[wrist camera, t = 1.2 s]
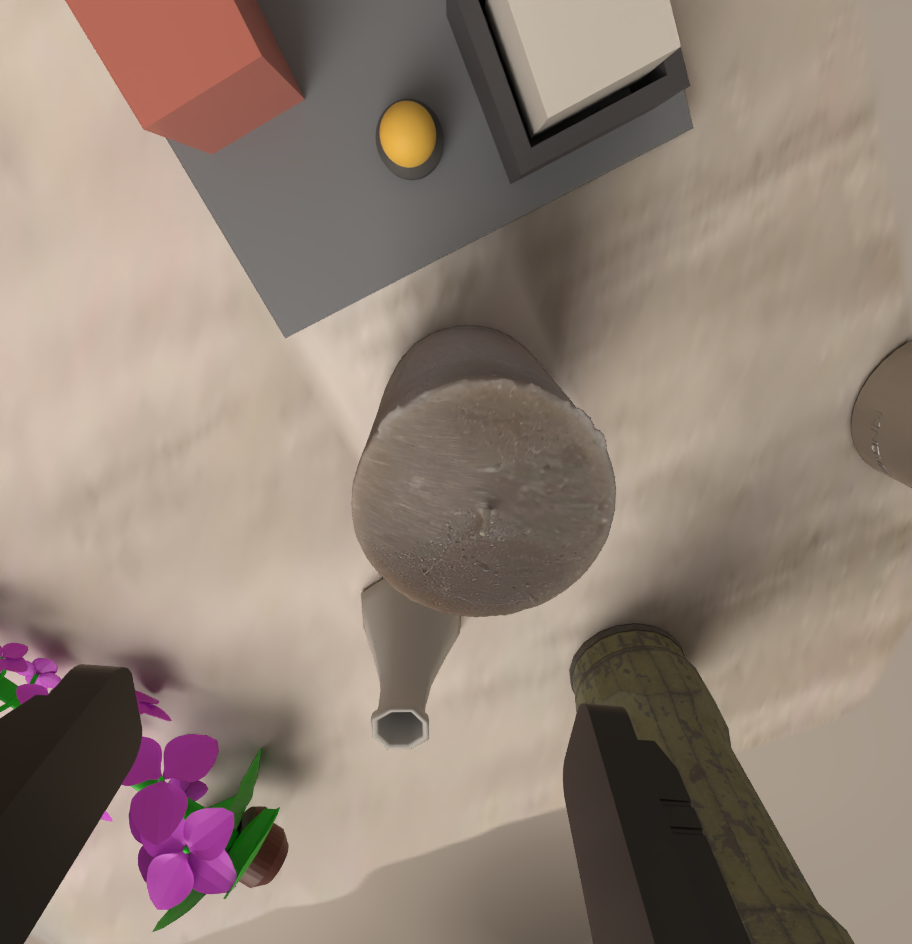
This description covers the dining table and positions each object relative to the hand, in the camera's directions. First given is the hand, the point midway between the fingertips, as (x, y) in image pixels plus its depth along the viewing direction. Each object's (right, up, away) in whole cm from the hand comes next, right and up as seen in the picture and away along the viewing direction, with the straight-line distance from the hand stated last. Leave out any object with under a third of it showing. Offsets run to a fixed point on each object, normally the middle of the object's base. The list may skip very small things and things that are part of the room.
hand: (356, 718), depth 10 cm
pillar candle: (+3, +9, +22) cm, 24 cm away
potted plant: (-25, -13, +31) cm, 42 cm away
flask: (-1, -5, +28) cm, 29 cm away
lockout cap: (-8, +22, +13) cm, 27 cm away
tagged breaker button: (+6, +21, +11) cm, 25 cm away
